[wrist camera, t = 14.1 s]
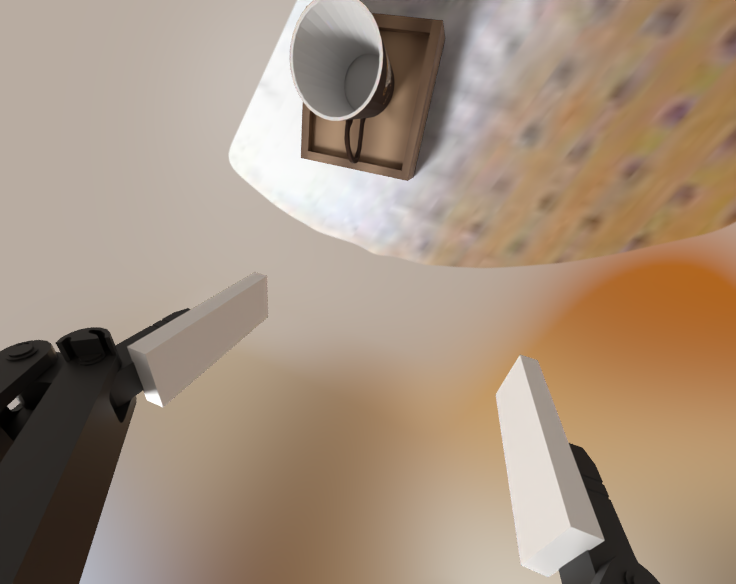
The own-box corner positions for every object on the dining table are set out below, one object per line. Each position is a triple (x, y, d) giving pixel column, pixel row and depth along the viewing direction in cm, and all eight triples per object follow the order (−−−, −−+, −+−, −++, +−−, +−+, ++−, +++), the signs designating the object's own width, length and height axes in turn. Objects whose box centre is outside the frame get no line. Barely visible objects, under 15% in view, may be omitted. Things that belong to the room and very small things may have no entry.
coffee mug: (346, 24, 30) (302, -27, 21) (417, 55, 29) (399, 15, 21) (319, 137, 36) (276, 133, 27) (377, 164, 35) (351, 169, 27)
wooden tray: (445, 38, 31) (442, 20, 27) (413, 177, 38) (407, 180, 34) (325, 24, 34) (305, 6, 29) (317, 157, 41) (300, 157, 37)
